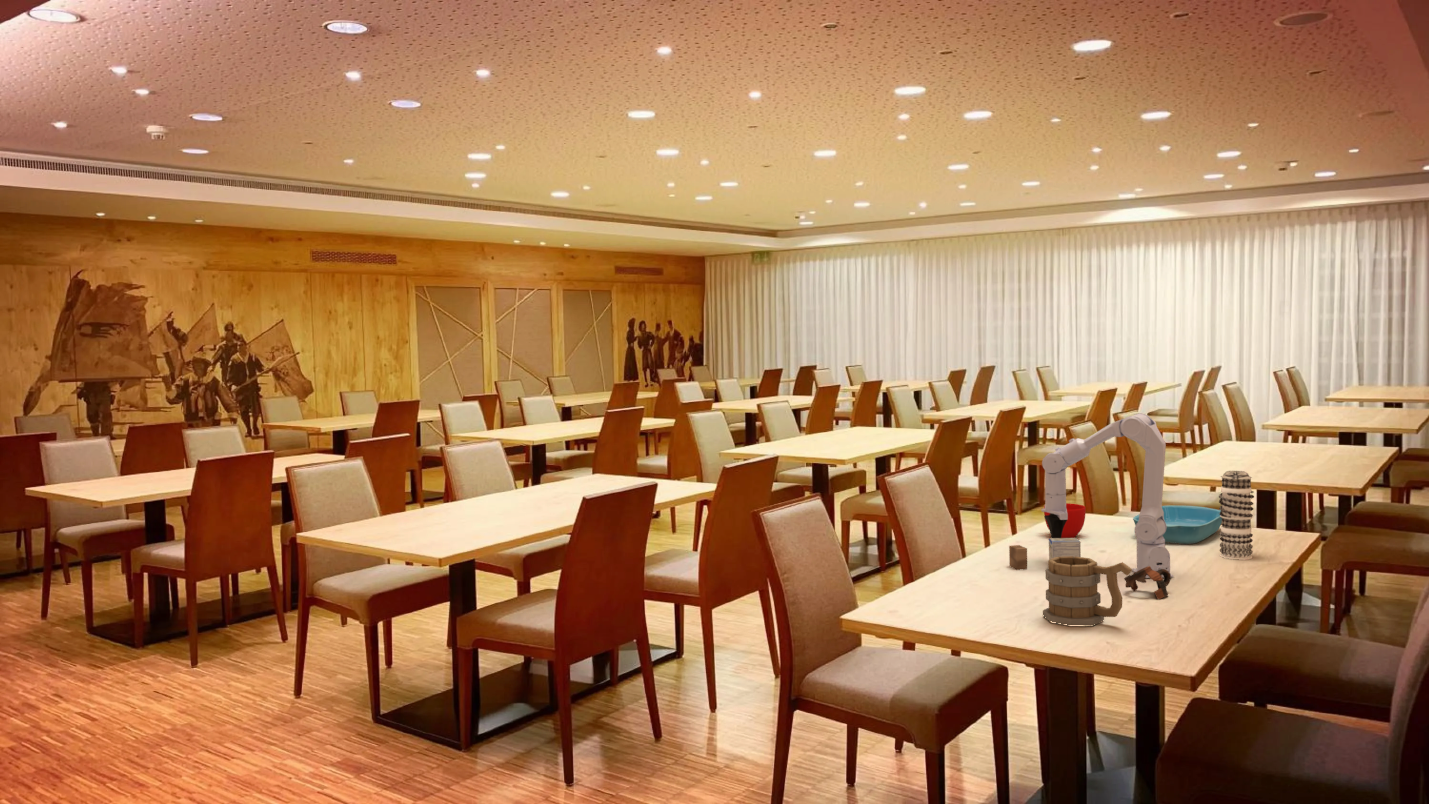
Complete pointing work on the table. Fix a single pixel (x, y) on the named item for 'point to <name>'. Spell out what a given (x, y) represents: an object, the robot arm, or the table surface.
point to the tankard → (1080, 590)
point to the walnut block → (1018, 557)
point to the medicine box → (1064, 547)
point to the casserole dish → (1189, 523)
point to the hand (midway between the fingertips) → (1056, 540)
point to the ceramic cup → (1072, 520)
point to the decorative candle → (1236, 515)
